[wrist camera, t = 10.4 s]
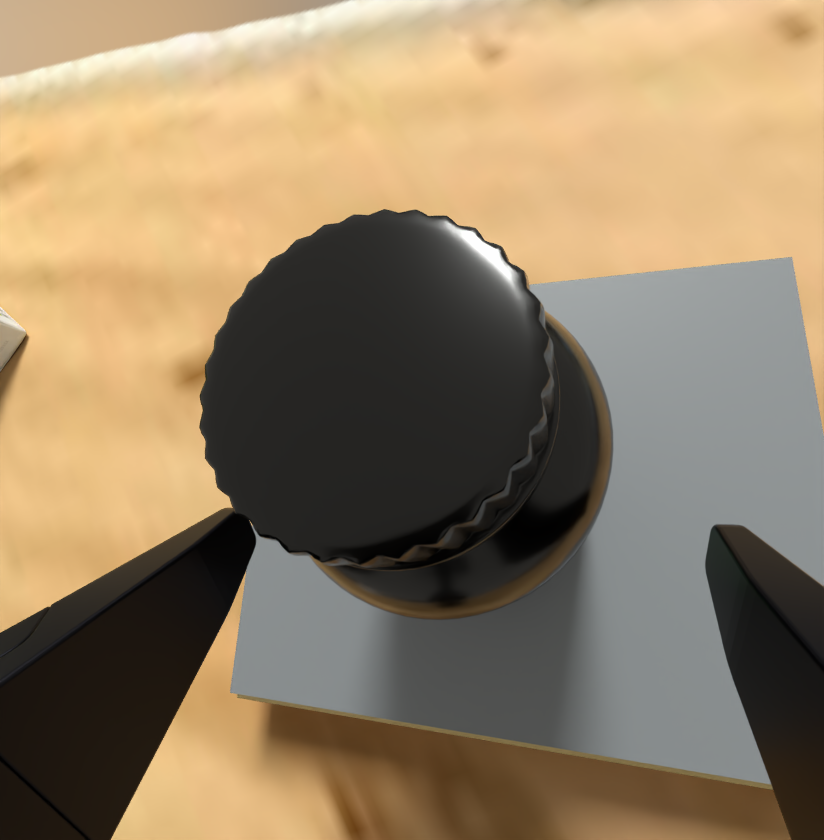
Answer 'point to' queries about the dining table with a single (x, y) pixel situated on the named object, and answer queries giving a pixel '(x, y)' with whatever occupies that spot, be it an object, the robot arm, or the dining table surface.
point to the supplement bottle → (408, 417)
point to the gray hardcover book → (597, 550)
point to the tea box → (9, 337)
